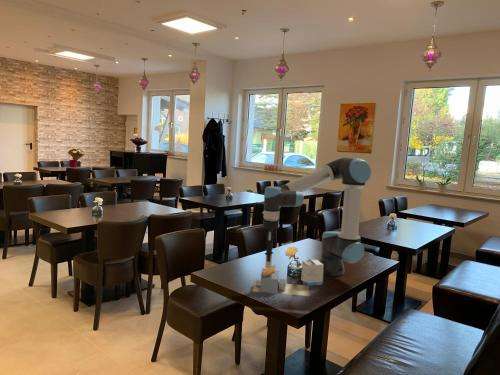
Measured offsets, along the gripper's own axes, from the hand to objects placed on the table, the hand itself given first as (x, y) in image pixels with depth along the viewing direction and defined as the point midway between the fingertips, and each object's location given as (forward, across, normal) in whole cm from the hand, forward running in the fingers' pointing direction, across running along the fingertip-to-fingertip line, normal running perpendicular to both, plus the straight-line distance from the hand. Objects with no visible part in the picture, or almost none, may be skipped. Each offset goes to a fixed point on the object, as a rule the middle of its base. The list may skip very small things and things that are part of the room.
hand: (268, 267), depth 179 cm
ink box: (+11, -12, +22) cm, 28 cm away
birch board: (+11, 0, +7) cm, 13 cm away
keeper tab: (+2, 0, 0) cm, 2 cm away
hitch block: (+10, 0, +1) cm, 10 cm away
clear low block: (+10, 0, +2) cm, 10 cm away
